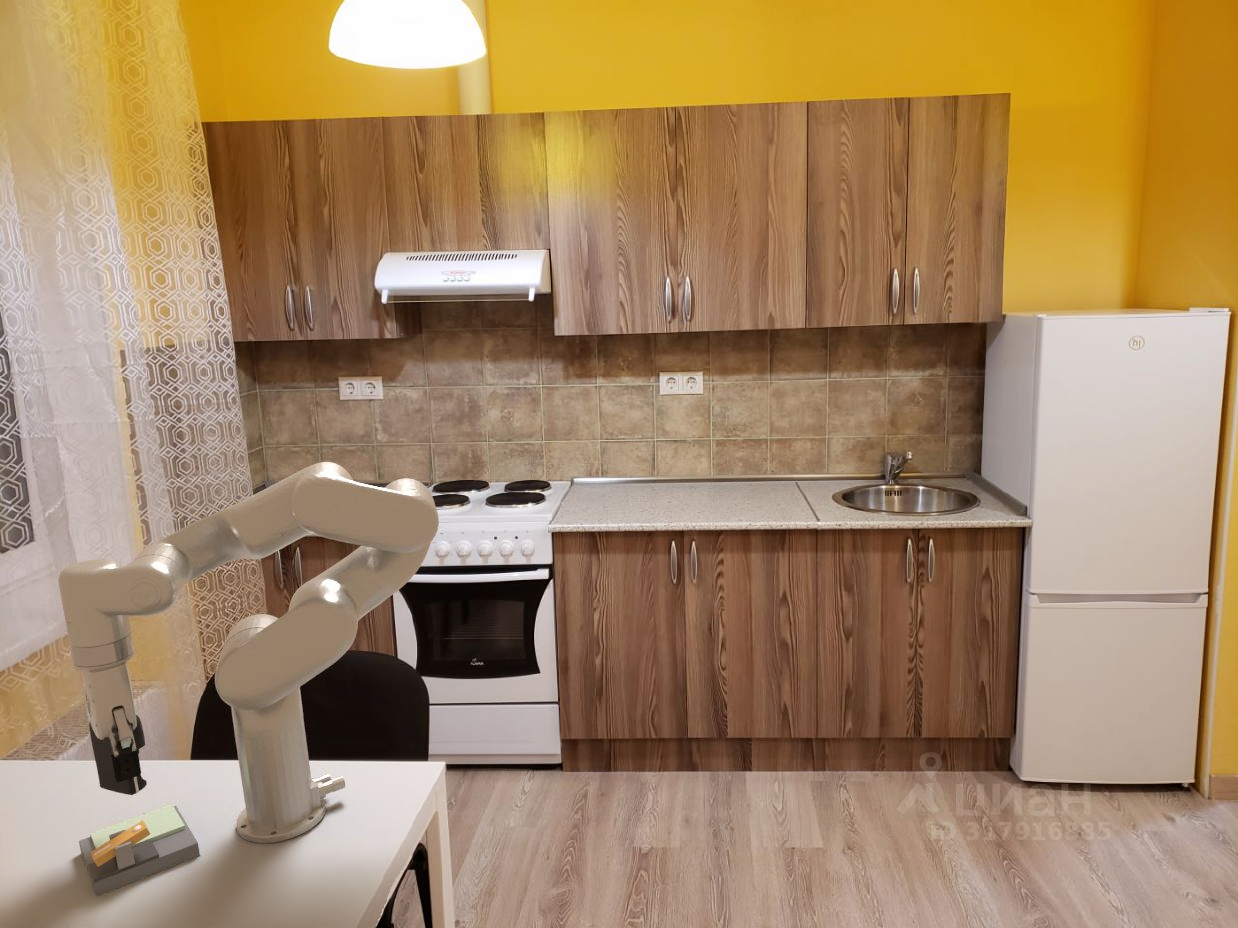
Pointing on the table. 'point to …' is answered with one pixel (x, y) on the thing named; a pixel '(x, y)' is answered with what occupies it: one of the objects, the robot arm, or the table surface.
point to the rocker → (119, 842)
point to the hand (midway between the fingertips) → (122, 766)
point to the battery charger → (104, 762)
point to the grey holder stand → (140, 849)
